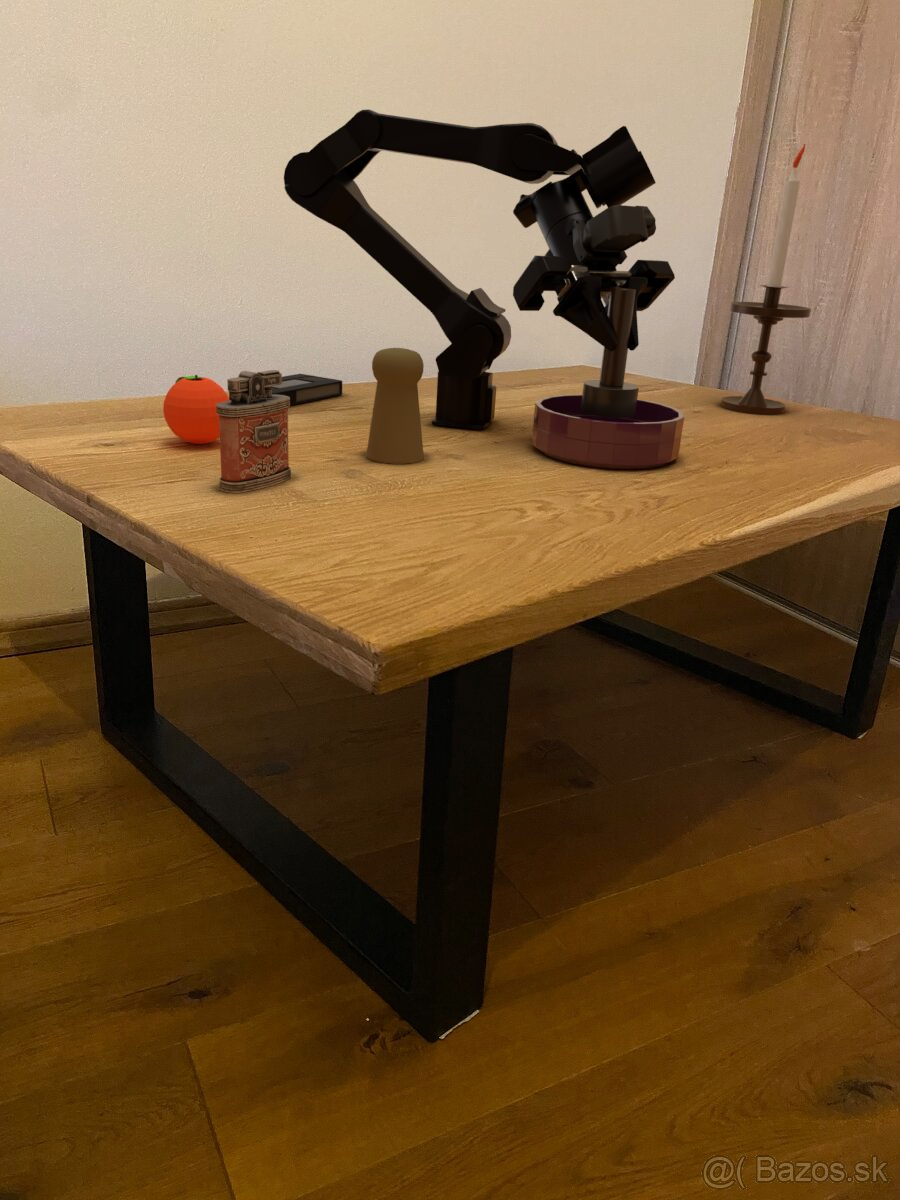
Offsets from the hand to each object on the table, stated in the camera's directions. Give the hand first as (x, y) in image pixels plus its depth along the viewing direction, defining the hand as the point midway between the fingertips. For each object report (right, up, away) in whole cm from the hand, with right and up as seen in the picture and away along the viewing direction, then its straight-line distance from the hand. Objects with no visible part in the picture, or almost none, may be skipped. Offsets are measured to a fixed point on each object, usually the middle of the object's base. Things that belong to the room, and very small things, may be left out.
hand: (624, 348), depth 98 cm
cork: (-24, -12, -1) cm, 27 cm away
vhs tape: (-40, 0, +25) cm, 47 cm away
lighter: (-36, -16, -13) cm, 42 cm away
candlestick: (+26, +1, +38) cm, 45 cm away
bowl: (-1, -10, +6) cm, 12 cm away
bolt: (-1, -6, +4) cm, 7 cm away
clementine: (-45, -10, 0) cm, 47 cm away
